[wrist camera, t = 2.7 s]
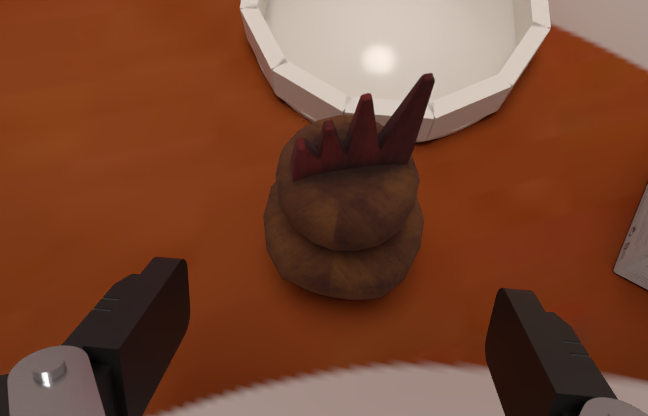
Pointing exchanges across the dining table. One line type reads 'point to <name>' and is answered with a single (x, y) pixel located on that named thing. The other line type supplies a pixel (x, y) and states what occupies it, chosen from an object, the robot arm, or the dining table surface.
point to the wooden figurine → (349, 201)
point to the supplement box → (636, 248)
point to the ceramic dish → (395, 54)
